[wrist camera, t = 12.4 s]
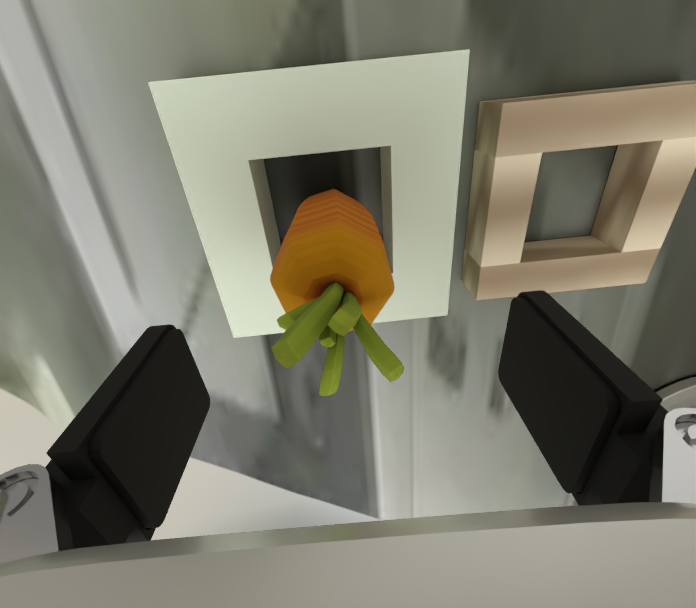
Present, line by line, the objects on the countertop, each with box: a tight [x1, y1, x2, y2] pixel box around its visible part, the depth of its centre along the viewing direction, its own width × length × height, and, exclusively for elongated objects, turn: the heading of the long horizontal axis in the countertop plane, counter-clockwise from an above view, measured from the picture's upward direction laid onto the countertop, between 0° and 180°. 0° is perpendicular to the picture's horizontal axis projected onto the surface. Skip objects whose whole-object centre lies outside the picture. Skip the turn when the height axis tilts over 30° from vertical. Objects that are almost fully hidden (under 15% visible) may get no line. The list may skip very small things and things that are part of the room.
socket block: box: [461, 81, 696, 301], centre depth 21 cm, size 12×12×3 cm
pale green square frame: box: [148, 49, 470, 338], centre depth 20 cm, size 14×14×4 cm
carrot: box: [270, 189, 404, 396], centre depth 16 cm, size 5×5×15 cm
